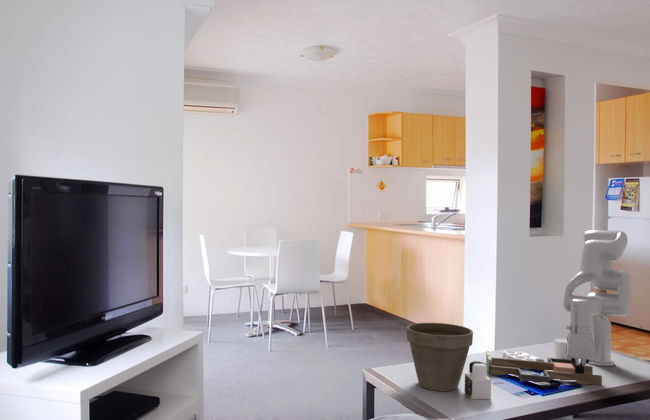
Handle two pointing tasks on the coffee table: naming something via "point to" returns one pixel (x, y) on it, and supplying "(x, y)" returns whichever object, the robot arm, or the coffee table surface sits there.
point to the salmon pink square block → (563, 367)
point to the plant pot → (439, 353)
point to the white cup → (560, 348)
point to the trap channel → (513, 367)
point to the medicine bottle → (478, 382)
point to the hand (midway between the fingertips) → (579, 374)
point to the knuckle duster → (520, 356)
